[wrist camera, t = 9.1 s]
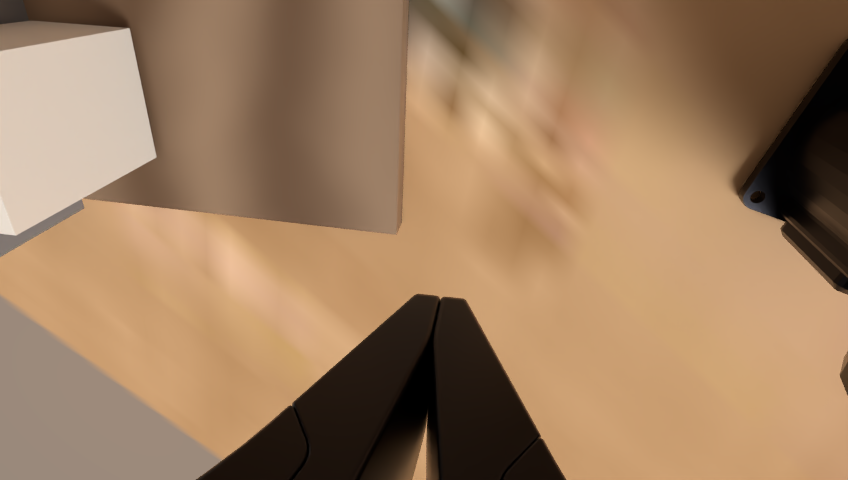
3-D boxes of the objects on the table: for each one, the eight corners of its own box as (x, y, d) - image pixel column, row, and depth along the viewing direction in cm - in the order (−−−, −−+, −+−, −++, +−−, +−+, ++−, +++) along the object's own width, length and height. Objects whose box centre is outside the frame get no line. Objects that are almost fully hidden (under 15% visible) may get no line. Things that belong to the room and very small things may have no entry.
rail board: (410, -34, 18) (403, -33, 17) (401, 222, 23) (396, 234, 22) (-107, -65, 20) (-140, -66, 19) (-15, 175, 25) (-38, 184, 24)
